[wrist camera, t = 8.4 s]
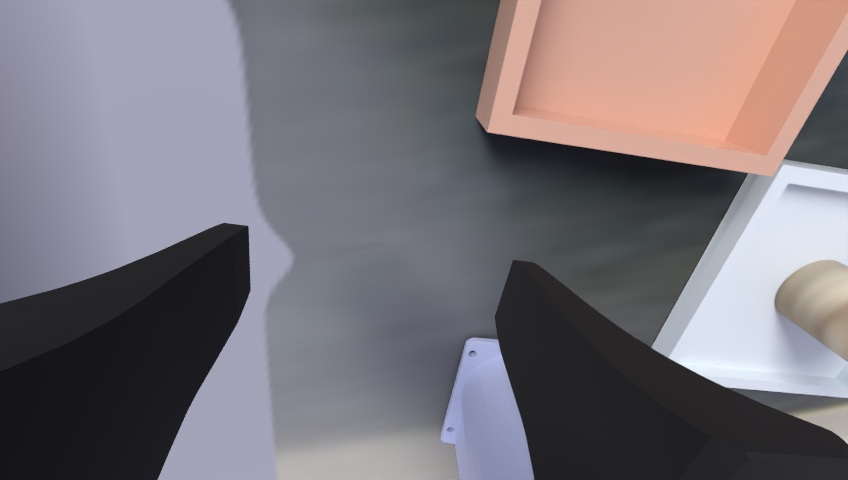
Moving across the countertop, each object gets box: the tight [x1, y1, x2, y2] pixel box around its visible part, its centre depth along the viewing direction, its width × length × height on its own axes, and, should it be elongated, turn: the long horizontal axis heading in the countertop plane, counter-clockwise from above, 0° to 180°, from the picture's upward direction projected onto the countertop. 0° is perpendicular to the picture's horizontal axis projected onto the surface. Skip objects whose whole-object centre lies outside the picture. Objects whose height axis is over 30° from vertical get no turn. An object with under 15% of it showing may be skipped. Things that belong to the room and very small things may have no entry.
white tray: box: [651, 159, 848, 398], centre depth 23 cm, size 14×14×2 cm
